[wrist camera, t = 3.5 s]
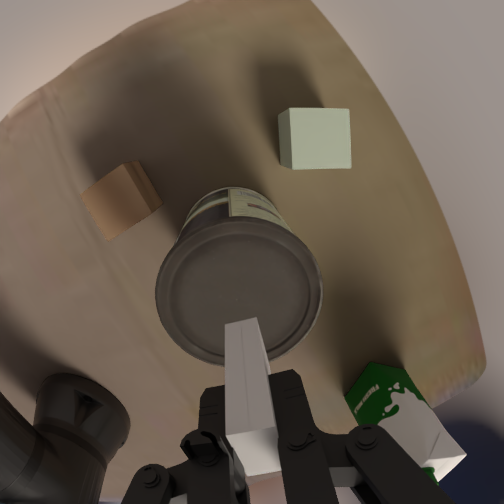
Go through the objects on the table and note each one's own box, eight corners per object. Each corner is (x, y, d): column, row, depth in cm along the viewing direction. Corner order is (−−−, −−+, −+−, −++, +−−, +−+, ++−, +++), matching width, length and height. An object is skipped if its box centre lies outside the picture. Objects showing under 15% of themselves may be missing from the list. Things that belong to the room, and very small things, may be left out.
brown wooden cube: (124, 227, 31) (108, 241, 26) (99, 187, 30) (79, 195, 25) (163, 203, 31) (152, 213, 26) (138, 160, 29) (122, 163, 24)
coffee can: (188, 286, 34) (168, 371, 20) (179, 189, 30) (143, 223, 17) (284, 281, 34) (318, 362, 21) (284, 184, 31) (328, 214, 18)
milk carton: (368, 354, 39) (437, 471, 20) (413, 365, 41) (481, 462, 22) (335, 401, 41) (380, 516, 22) (381, 407, 43) (431, 506, 24)
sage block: (280, 165, 30) (292, 169, 25) (277, 115, 29) (289, 107, 23) (329, 163, 31) (351, 168, 25) (327, 115, 29) (349, 109, 23)
